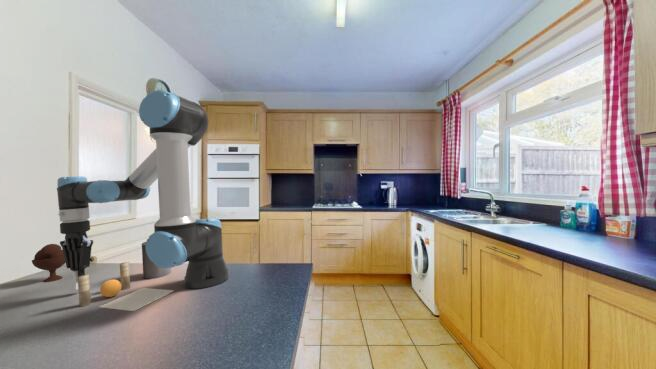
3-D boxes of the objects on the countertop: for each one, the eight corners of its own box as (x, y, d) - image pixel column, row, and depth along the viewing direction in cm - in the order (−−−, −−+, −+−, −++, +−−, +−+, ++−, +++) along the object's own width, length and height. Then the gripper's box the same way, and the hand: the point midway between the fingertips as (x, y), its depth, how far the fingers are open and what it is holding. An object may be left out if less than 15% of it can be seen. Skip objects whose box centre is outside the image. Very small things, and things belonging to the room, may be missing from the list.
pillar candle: (139, 276, 107) (136, 239, 106) (165, 269, 115) (163, 235, 114) (149, 280, 101) (147, 242, 101) (176, 272, 109) (173, 237, 109)
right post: (132, 287, 95) (130, 262, 95) (124, 289, 93) (123, 264, 93) (126, 286, 96) (125, 262, 96) (119, 289, 93) (117, 264, 93)
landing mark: (174, 291, 89) (174, 290, 89) (133, 311, 76) (133, 310, 76) (142, 288, 93) (142, 288, 93) (98, 307, 80) (98, 306, 80)
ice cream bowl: (78, 274, 114) (76, 240, 114) (49, 284, 103) (46, 246, 103) (56, 275, 115) (54, 240, 115) (25, 285, 104) (22, 247, 104)
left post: (92, 303, 83) (91, 274, 83) (83, 306, 81) (81, 277, 80) (87, 302, 84) (85, 274, 84) (77, 306, 81) (75, 277, 81)
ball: (126, 292, 89) (123, 276, 90) (109, 299, 84) (106, 282, 84) (115, 293, 91) (112, 277, 91) (97, 300, 86) (94, 283, 86)
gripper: (48, 222, 90) (53, 291, 90) (75, 222, 86) (79, 293, 86) (75, 219, 97) (79, 283, 97) (100, 219, 93) (104, 284, 94)
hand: (79, 288), depth 92 cm, fingers closed
